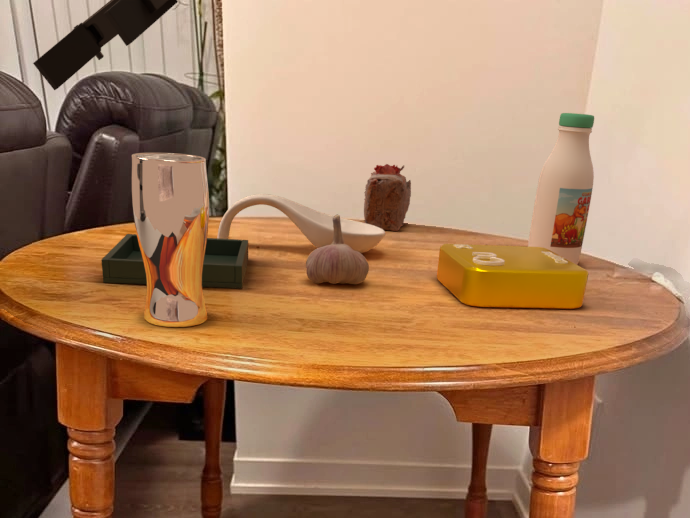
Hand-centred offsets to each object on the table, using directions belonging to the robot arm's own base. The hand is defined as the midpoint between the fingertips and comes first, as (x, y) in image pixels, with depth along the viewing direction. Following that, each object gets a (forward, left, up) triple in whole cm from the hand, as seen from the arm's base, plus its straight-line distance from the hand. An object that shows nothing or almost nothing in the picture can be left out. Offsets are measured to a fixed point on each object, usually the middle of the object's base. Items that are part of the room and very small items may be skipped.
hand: (78, 54), depth 67 cm
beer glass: (+7, -1, -23) cm, 24 cm away
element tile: (+45, +16, -23) cm, 53 cm away
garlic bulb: (+24, +17, -23) cm, 37 cm away
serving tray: (+5, +20, -23) cm, 30 cm away
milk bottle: (+57, +36, -23) cm, 71 cm away
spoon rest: (+20, +36, -23) cm, 47 cm away
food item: (+35, +62, -23) cm, 75 cm away
